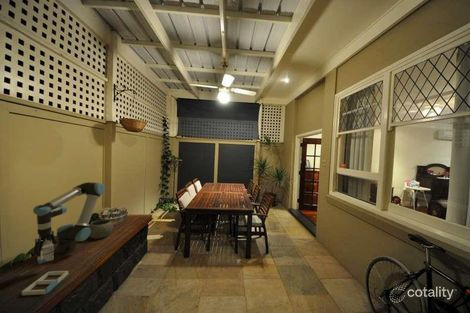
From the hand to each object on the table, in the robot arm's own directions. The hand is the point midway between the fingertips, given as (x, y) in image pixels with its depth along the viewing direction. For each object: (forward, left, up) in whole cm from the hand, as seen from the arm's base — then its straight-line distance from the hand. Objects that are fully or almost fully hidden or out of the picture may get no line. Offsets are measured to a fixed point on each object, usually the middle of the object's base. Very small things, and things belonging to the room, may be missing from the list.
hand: (45, 256), depth 149 cm
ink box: (0, 0, -4) cm, 4 cm away
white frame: (+16, +13, -11) cm, 23 cm away
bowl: (-60, +7, -12) cm, 62 cm away
